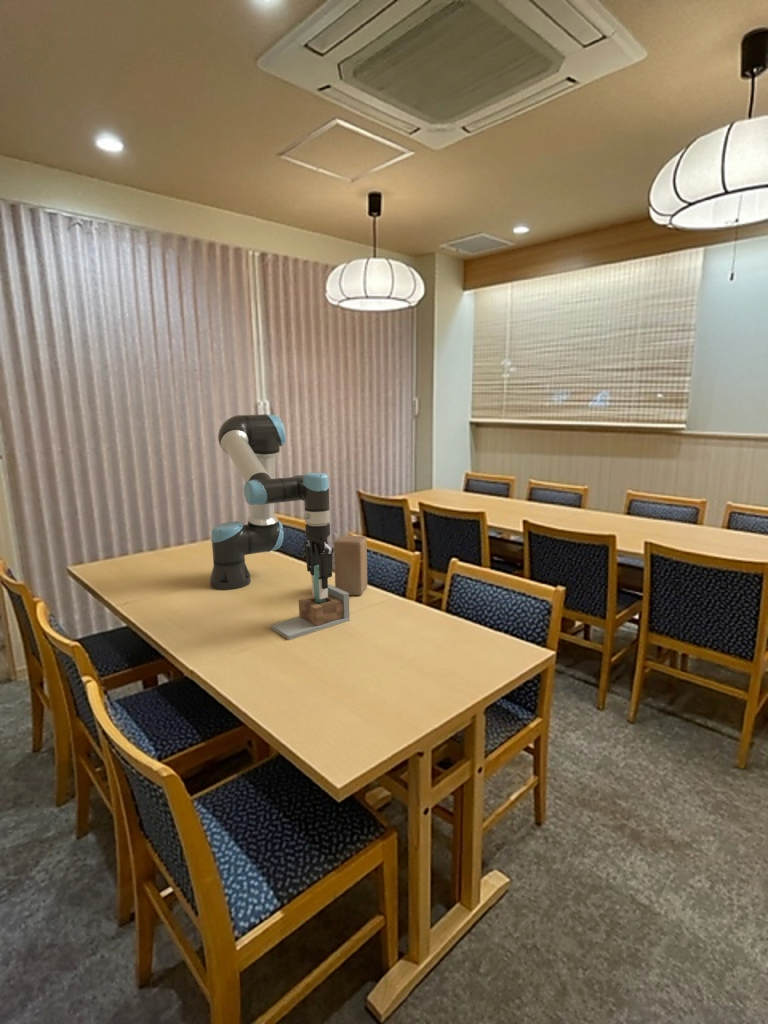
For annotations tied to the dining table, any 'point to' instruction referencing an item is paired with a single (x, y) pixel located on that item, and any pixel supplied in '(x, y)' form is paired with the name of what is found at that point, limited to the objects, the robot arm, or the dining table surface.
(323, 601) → the teal dowel
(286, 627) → the grey l-shaped bracket
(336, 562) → the block
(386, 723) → the dining table surface
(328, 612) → the walnut block
